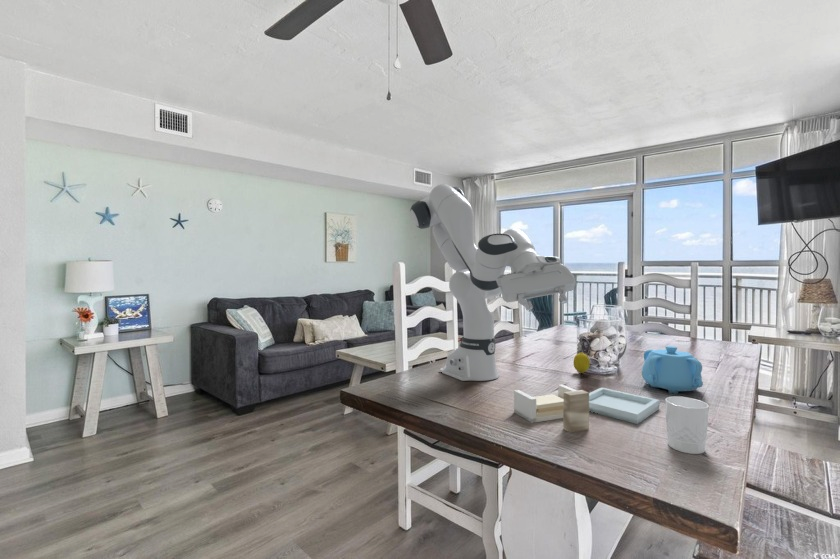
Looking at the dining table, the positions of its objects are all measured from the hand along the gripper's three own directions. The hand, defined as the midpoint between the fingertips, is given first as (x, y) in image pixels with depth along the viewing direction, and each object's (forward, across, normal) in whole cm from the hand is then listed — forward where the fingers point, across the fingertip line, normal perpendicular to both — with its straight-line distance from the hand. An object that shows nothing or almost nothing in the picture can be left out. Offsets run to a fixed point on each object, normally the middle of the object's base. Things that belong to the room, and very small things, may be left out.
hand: (547, 305), depth 106 cm
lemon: (-7, +22, +52) cm, 57 cm away
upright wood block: (+27, -1, +16) cm, 31 cm away
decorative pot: (+10, +43, +42) cm, 61 cm away
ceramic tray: (+19, +16, +27) cm, 36 cm away
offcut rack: (+19, -4, +22) cm, 29 cm away
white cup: (+38, +18, +11) cm, 43 cm away
